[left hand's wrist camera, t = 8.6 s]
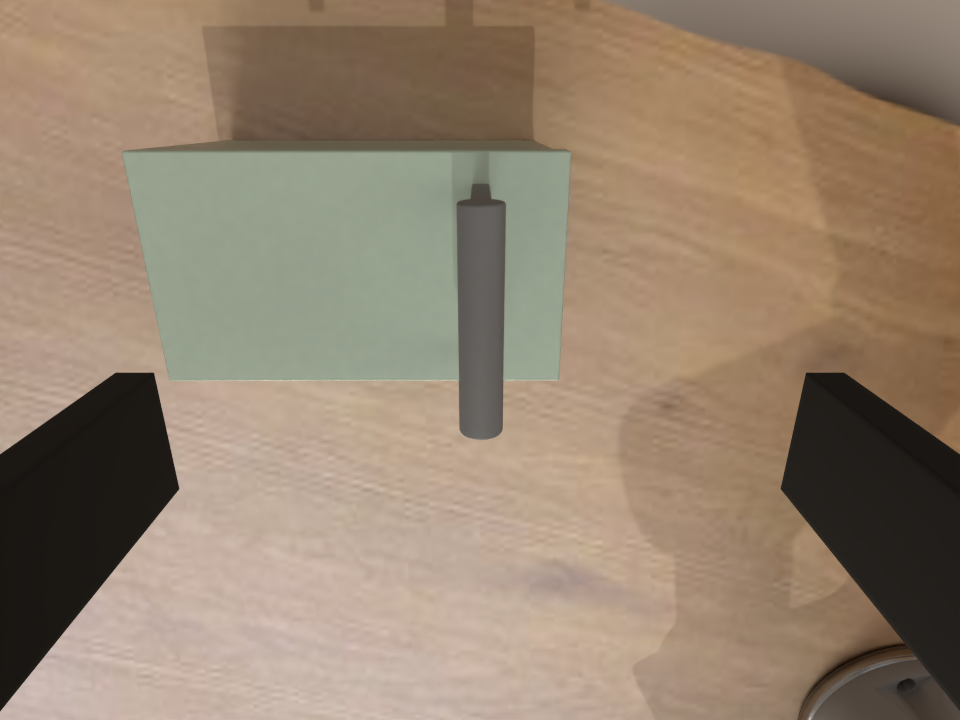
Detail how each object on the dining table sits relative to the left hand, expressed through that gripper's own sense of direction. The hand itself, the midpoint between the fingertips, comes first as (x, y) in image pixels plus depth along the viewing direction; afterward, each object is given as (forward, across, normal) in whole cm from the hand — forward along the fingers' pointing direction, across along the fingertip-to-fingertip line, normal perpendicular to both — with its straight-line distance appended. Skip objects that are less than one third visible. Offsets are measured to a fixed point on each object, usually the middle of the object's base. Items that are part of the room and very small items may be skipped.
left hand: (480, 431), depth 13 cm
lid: (+15, +5, 0) cm, 15 cm away
